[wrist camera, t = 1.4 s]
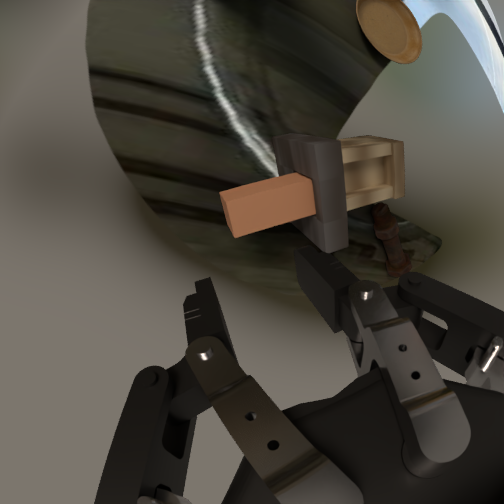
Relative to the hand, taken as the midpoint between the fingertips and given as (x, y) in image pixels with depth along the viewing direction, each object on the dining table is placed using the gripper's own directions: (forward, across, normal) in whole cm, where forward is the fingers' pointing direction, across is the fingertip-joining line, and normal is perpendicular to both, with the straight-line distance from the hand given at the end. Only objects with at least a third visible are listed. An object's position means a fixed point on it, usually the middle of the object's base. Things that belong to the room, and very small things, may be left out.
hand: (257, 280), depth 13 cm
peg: (+19, +8, -3) cm, 21 cm away
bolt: (+26, +29, -18) cm, 43 cm away
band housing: (+25, +18, -3) cm, 31 cm away
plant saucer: (+26, +34, +20) cm, 47 cm away
